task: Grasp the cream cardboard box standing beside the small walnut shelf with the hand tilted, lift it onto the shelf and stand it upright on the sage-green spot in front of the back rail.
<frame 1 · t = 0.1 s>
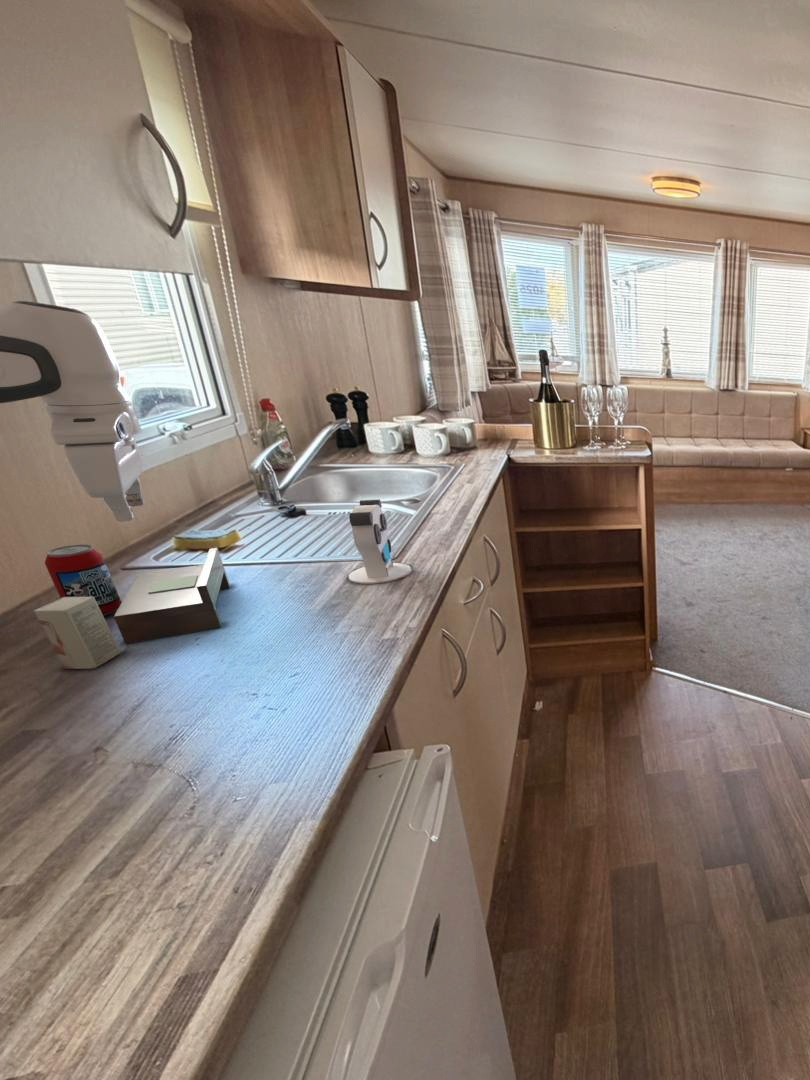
hand: (131, 512, 100), 21 cm above the counter, tool pointing down, fingers open, 8 cm apart
shelf: (183, 611, 115), on the counter
panda figurine: (380, 575, 136), on the counter
beverage can: (98, 613, 114), on the counter
cream cardboard box: (92, 662, 99), on the counter
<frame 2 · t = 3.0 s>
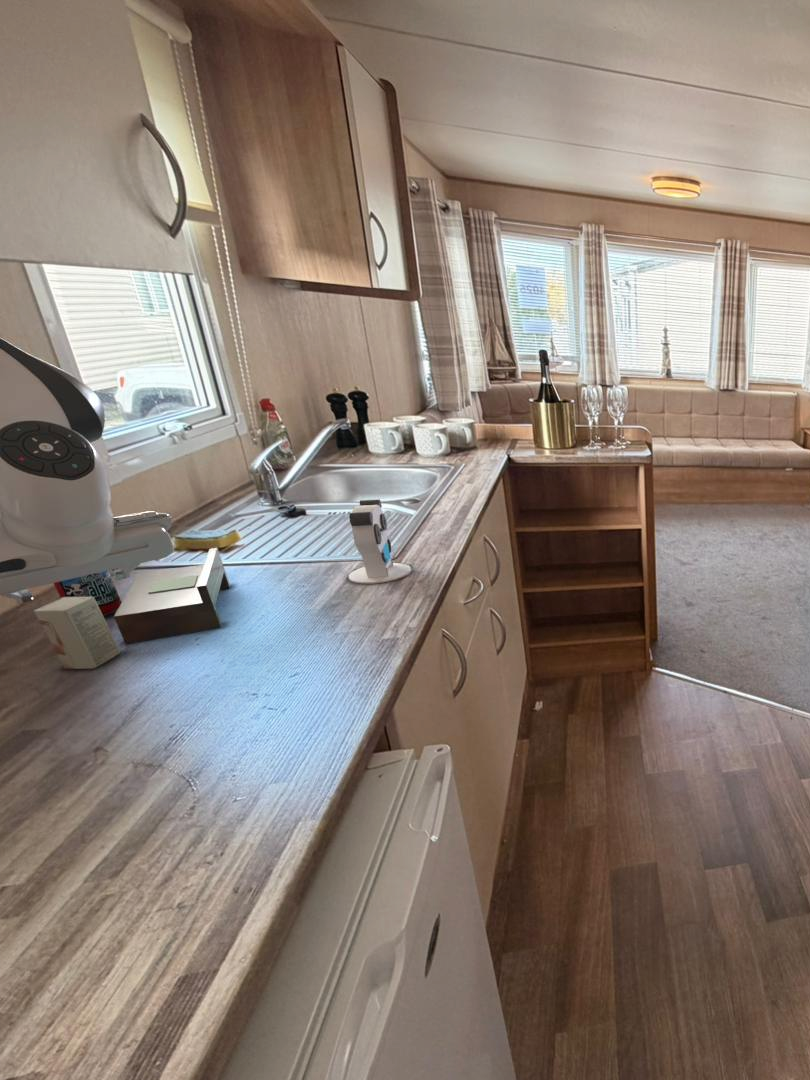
hand: (73, 586, 87), 16 cm above the counter, tool tilted 45°, fingers open, 8 cm apart
nothing on the counter moved.
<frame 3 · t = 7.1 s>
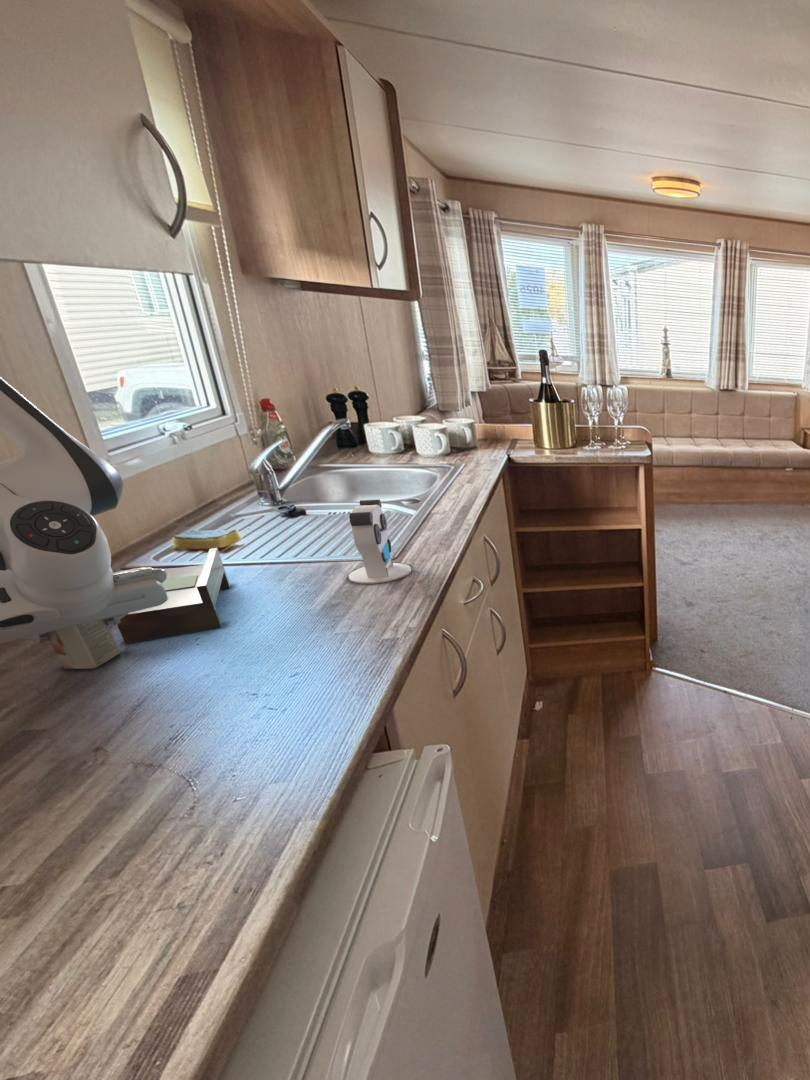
hand: (76, 629, 97), 5 cm above the counter, tool tilted 45°, fingers closed on cream cardboard box, 6 cm apart
cream cardboard box: (92, 662, 99), on the counter, touching gripper
everything else where it was.
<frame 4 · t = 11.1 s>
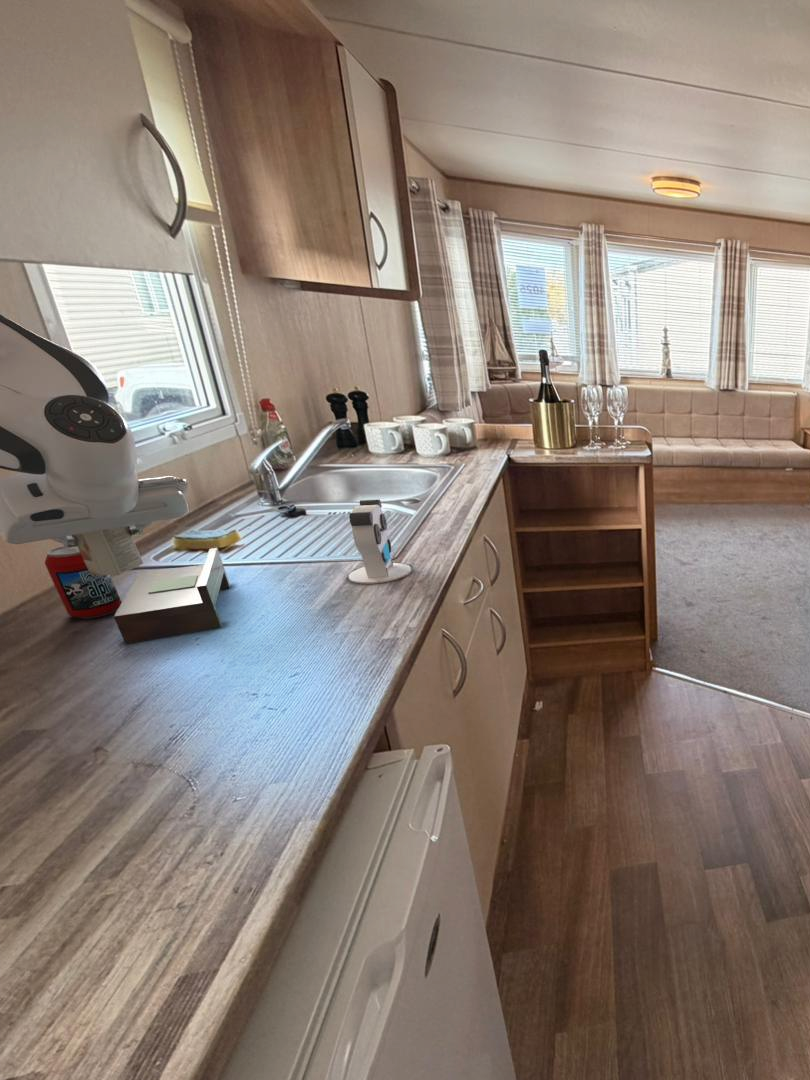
hand: (102, 537, 101), 17 cm above the counter, tool tilted 45°, fingers closed on cream cardboard box, 6 cm apart
cream cardboard box: (117, 571, 103), point 11 cm above the counter, touching gripper
everything else where it was.
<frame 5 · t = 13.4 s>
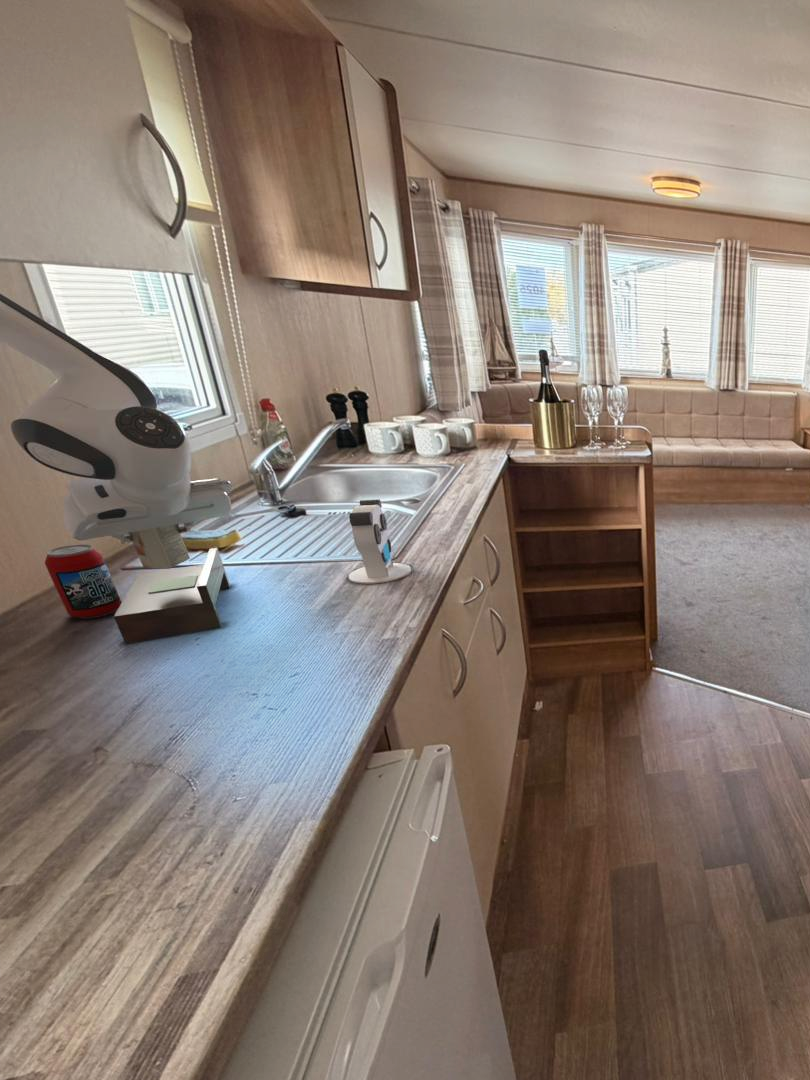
hand: (154, 534, 111), 14 cm above the counter, tool tilted 45°, fingers closed on cream cardboard box, 6 cm apart
cream cardboard box: (167, 565, 113), point 9 cm above the counter, touching gripper
everything else where it was.
when the fingers open (11 cm above the counter, at t = 15.1 s): cream cardboard box stays where it is, resting on shelf.
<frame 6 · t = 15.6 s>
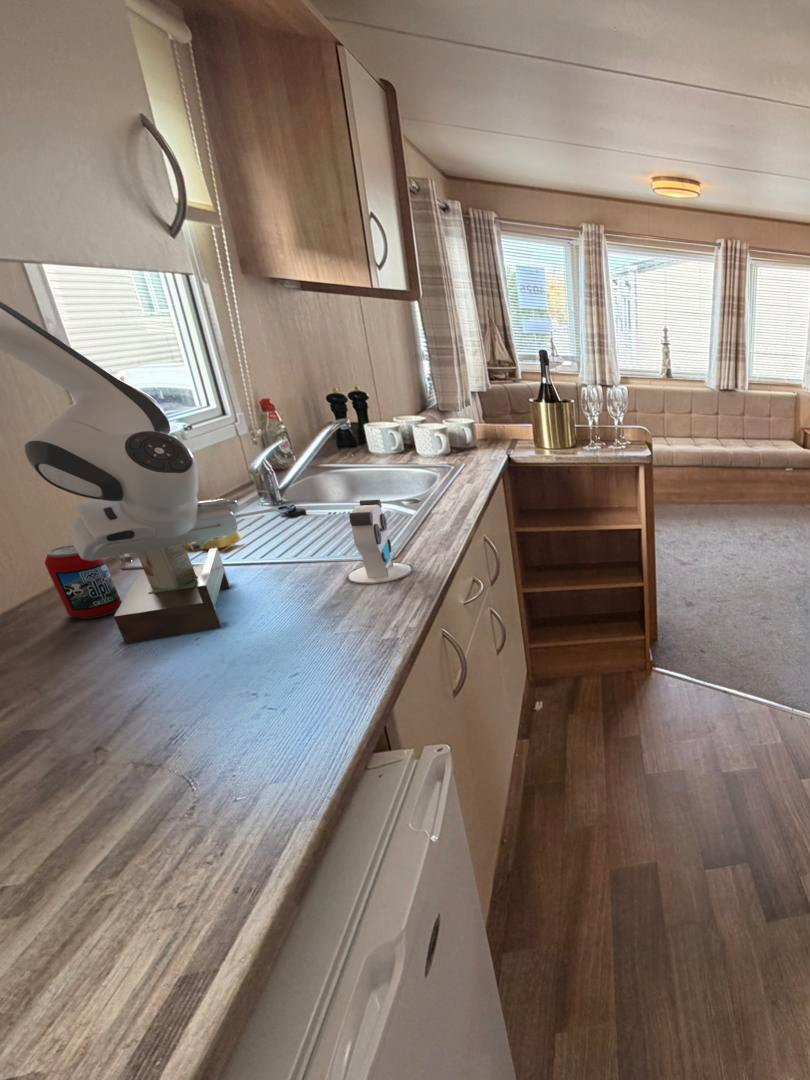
hand: (161, 553, 112), 11 cm above the counter, tool tilted 45°, fingers open, 8 cm apart
cream cardboard box: (174, 584, 114), point 5 cm above the counter, touching shelf
everything else where it was.
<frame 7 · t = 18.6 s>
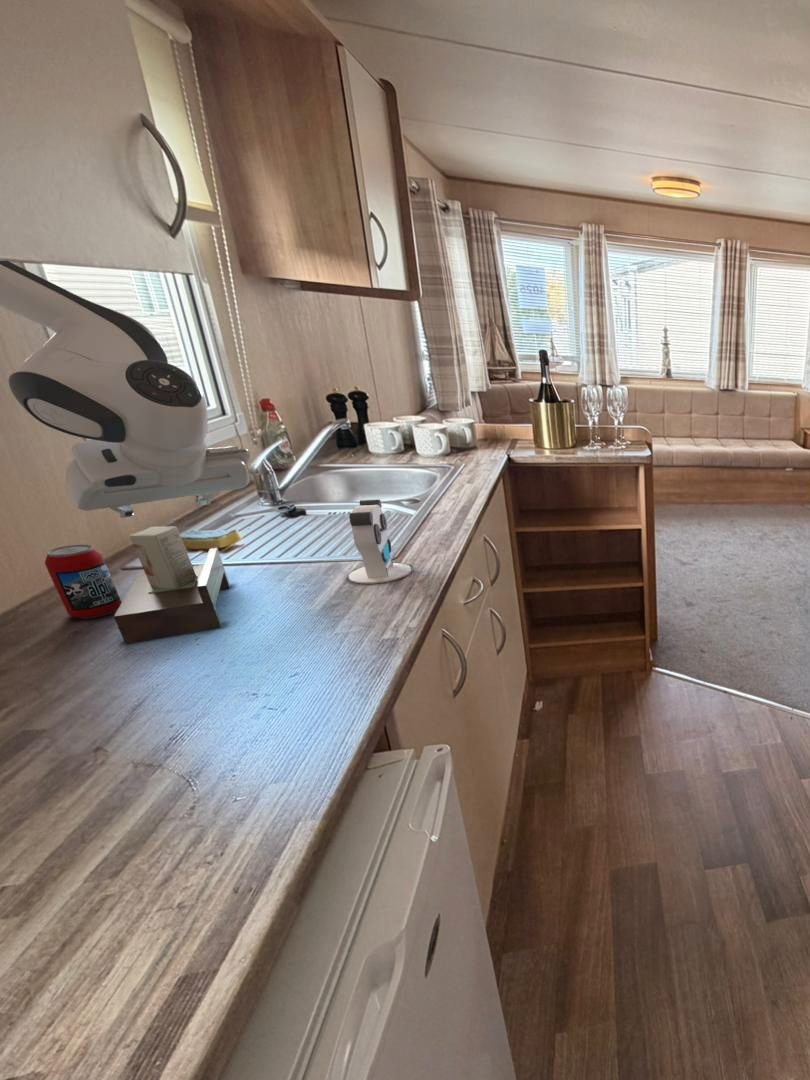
hand: (164, 507, 102), 22 cm above the counter, tool tilted 45°, fingers open, 8 cm apart
nothing on the counter moved.
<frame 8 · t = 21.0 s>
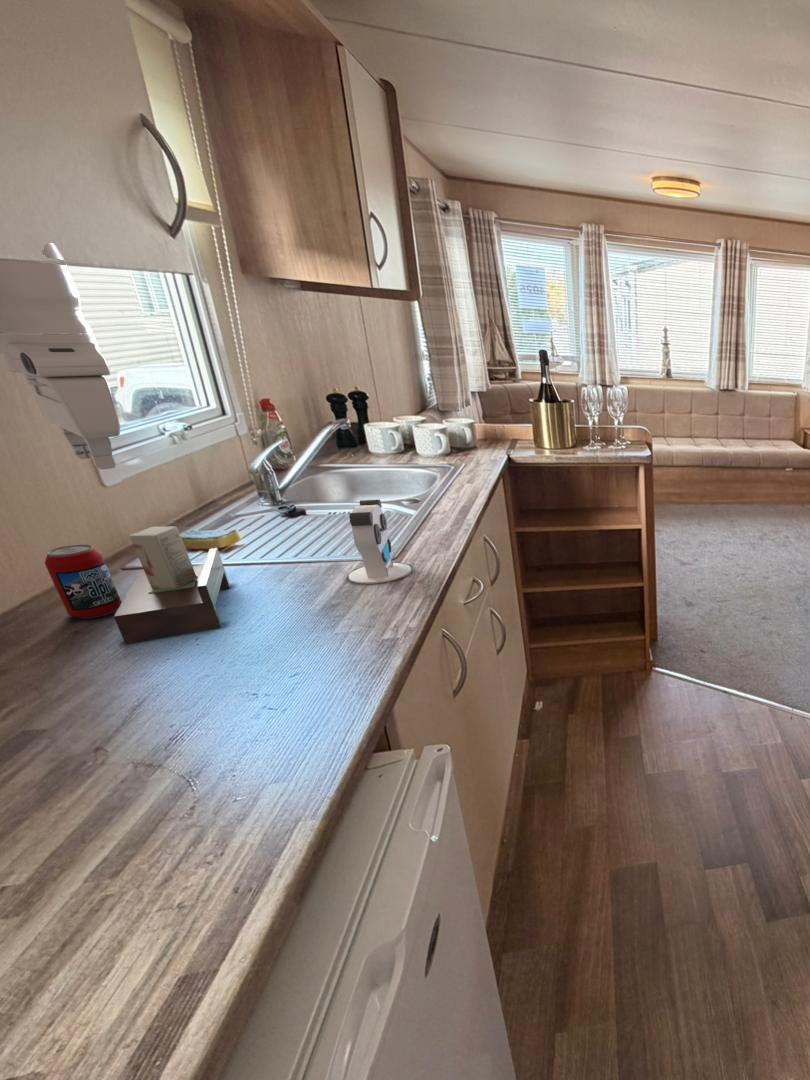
hand: (96, 462, 88), 31 cm above the counter, tool pointing down, fingers open, 8 cm apart
nothing on the counter moved.
at the end: cream cardboard box 0.1 cm from the target spot on the shelf, point 5.0 cm above the shelf's base; cream cardboard box tilted 0°; the gripper is holding nothing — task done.
